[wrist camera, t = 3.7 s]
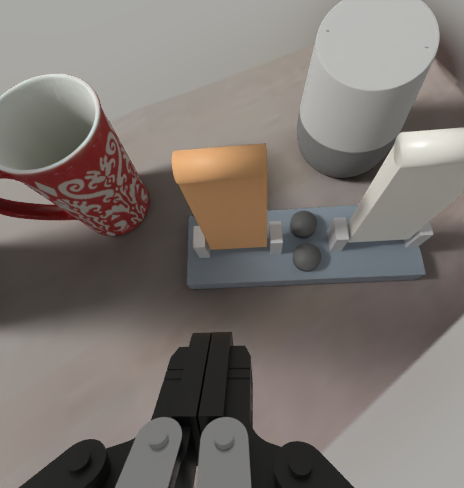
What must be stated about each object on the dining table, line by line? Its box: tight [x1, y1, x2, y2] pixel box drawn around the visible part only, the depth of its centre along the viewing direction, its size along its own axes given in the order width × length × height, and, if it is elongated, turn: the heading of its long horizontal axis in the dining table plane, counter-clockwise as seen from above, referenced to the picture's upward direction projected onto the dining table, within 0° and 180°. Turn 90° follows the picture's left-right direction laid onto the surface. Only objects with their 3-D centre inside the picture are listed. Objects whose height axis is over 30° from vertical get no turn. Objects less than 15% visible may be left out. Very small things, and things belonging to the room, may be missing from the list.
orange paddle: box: [172, 143, 268, 250], centre depth 23 cm, size 5×2×13 cm, turn 91°
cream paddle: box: [347, 127, 464, 243], centre depth 22 cm, size 5×2×13 cm, turn 91°
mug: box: [0, 74, 149, 236], centre depth 29 cm, size 13×9×14 cm
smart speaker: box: [297, 0, 439, 178], centre depth 29 cm, size 10×9×14 cm
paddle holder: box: [187, 205, 434, 289], centre depth 29 cm, size 21×7×5 cm, turn 91°
